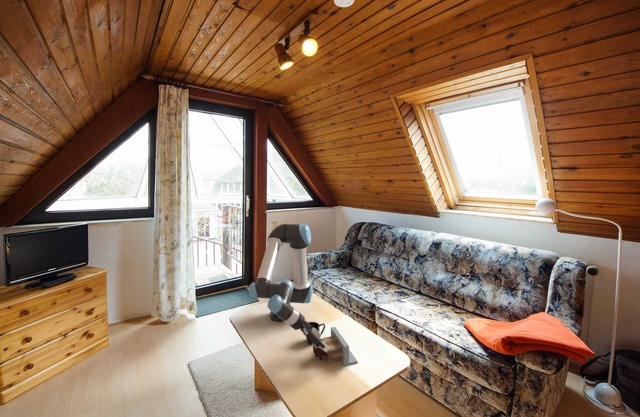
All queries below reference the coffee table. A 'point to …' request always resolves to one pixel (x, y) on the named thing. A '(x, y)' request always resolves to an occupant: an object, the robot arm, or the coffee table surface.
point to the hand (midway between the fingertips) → (323, 342)
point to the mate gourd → (319, 350)
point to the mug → (316, 326)
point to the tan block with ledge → (333, 350)
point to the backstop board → (343, 348)
